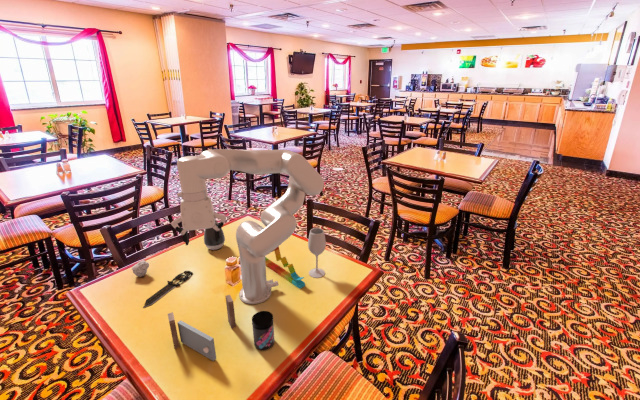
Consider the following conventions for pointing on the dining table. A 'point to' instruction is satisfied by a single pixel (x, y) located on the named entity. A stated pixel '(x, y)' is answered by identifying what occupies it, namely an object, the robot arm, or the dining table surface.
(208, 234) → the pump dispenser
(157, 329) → the dining table surface
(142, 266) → the white rounded lump
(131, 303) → the dining table surface
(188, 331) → the door
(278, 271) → the chart
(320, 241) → the wineglass
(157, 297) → the knife
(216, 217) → the robot arm
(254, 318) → the supplement container
